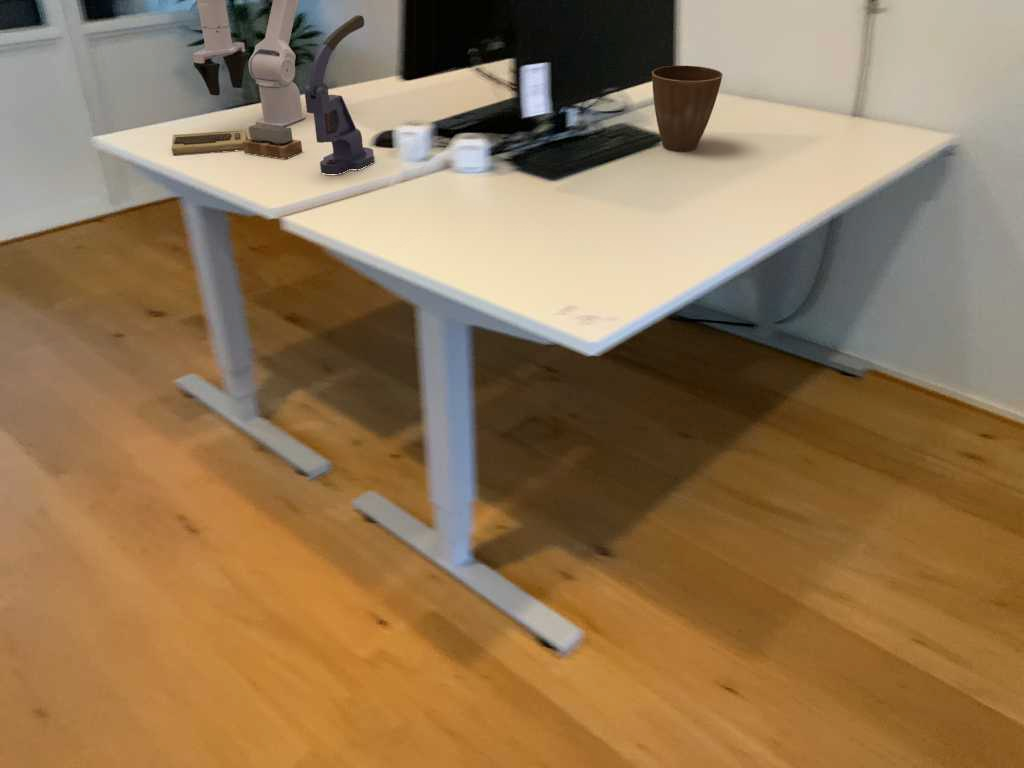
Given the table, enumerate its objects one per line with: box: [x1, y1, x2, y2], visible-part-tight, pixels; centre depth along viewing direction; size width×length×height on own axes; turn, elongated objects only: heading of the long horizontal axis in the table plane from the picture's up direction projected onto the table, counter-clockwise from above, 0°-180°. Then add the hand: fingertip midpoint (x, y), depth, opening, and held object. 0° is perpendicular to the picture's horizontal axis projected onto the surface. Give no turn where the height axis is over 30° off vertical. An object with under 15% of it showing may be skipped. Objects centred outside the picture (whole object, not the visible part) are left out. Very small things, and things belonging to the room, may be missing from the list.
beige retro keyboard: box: [171, 129, 249, 156], centre depth 188 cm, size 16×8×3 cm, turn 105°
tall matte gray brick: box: [248, 123, 294, 146], centre depth 185 cm, size 3×9×6 cm, turn 65°
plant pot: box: [651, 65, 723, 152], centre depth 187 cm, size 15×15×16 cm
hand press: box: [304, 14, 375, 174], centre depth 172 cm, size 19×9×28 cm, turn 155°
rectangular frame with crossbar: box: [243, 138, 303, 160], centre depth 185 cm, size 6×11×2 cm, turn 65°
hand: (226, 91), depth 191 cm, fingers open, 7 cm apart
